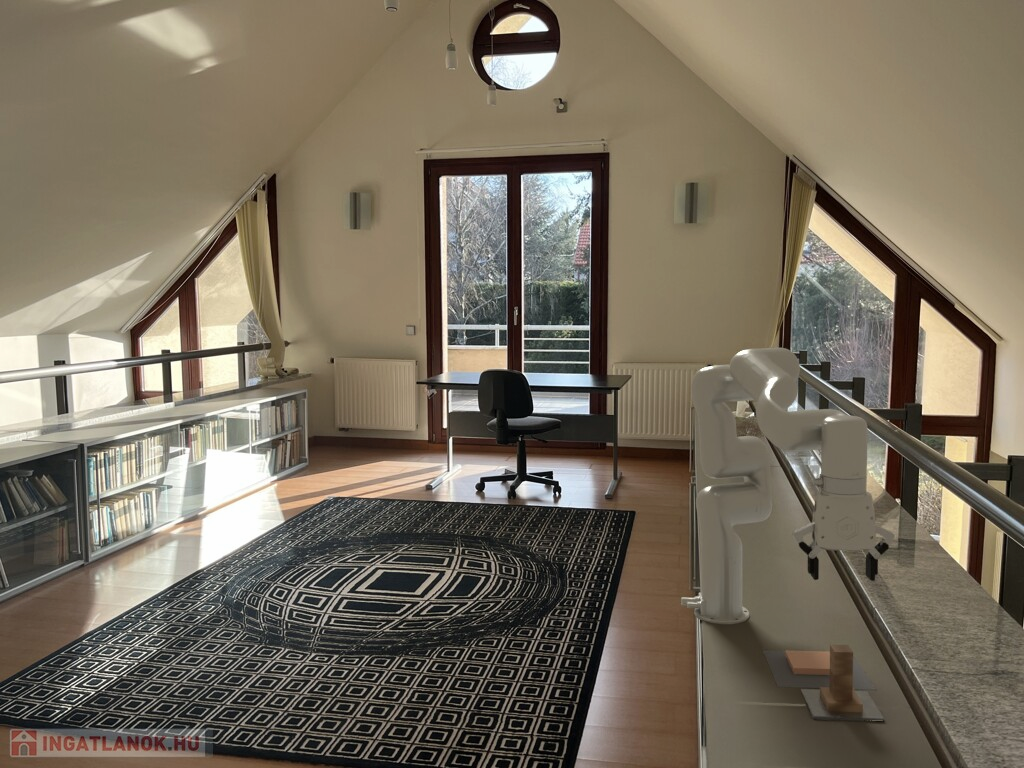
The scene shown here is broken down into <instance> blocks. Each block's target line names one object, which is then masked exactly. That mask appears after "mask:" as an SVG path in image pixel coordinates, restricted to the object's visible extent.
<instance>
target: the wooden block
mask: <svg viewBox="0 0 1024 768" xmlns="http://www.w3.org/2000/svg"><path fill="white" fill-rule="evenodd" d="M829 652H830V685H829V687H820V688H819V690H820V696H821V698H822V700H823V702H824V705H825V707H826V709H827V711H841V712H863V704H862V702H861V700H860V699H859V697H858V695H857V694H856V692H855V691H856V690H855V689H853V656H854V651H853V649H852V648H851V647H850V646H849V644H835V643H834V644H829Z"/></svg>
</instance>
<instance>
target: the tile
mask: <svg viewBox="0 0 1024 768" xmlns="http://www.w3.org/2000/svg"><path fill="white" fill-rule="evenodd" d="M784 651H785V657H786V659H787V661H788V663H789V665H790V667H791V669H792V672H793V674H803V675H830V650H828V651H827V650H825V651H824V650H822V651H821V650H819V651H818V650H784Z"/></svg>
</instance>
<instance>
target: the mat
mask: <svg viewBox="0 0 1024 768" xmlns="http://www.w3.org/2000/svg"><path fill="white" fill-rule="evenodd" d="M762 652H763V654H764V657H765V659H766V661H767V665H768V666H769V669H770V672H771V674H772V676H773V679H774V681H775V683H776V686H777V687H778V688H795V689H797V688H798V689H799V688H800V689H820V687H829V685H830V675H803V674H793V672H792V669H791V667H790V665H789V663H788V661H787V659H786V657H785V650H763V651H762ZM853 689H854V690H855V691H877V689H876V688H875V686H874V685H873V682H872V681H871V680H870V679H869V676H868V675H867V674H866V672H865V671H864V669H863V668H862V666H861V665H860V663H859V662H858V659H856V657H855V656H854V655H853Z"/></svg>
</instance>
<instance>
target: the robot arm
mask: <svg viewBox="0 0 1024 768" xmlns="http://www.w3.org/2000/svg"><path fill="white" fill-rule="evenodd" d="M800 370H801V366H800V361H799V359H798V357H797V356H796V354H795V353H794V352H793V351H791V350H790V349H788V348H784V347H767V348H766V347H764V348H762V347H761V348H748V349H742V350H741V351H739V352H738V353H735V354H734V356H733V357H732V358H731V360H730V362H729V364H718V365H710V366H706V367H703V368H701V369H699V370H697V371H696V373H695V374H694V375H693V377H692V380H691V385H690V390H691V392H690V393H691V399H692V403H693V407H694V409H695V413H696V415H697V421H698V439H699V457H700V458H699V459H700V466H701V471H702V472H703V475H705V476H706V477H707V478H709V479H715V480H718V479H719V480H720V479H724V480H725V479H735V478H743V481H744V482H743V481H742V482H732V483H730V482H729V483H721V484H719V483H718V484H712V485H709V486H706V487H704V488H702V489H701V490H700V491H699V492H698V494H697V495H696V498H695V507H696V513H697V518H698V525H699V533H700V534H699V535H700V537H699V538H700V592H698V595H697V596H696V595H695V596H694V597H689V596H686V597H685V596H681V599H680V601H681V602H680V603H681V606H687V608H686V609H694V610H693V611H694V615H695V617H696V618H697V619H698V620H700V621H705V622H707V623H712V624H717V625H718V624H719V625H734V624H741V623H743V622H745V621H747V620H749V618H750V611H749V609H747V608H746V607H744V606H743V544H742V540H741V538H740V537H739V535H738V533H736V532H735V530H734V528H733V527H734V526H735V525H742V524H743V525H744V524H751V523H758V522H763V521H765V520H767V519H768V518H769V517H770V516H771V512H772V509H773V508H772V507H773V497H772V496H773V495H772V493H773V492H772V472H771V459H770V454H769V450H768V448H767V445H766V444H765V443H764V441H763V440H762V439H761V438H760V437H757V436H755V435H744V436H738V434H737V433H738V432H737V421H736V420H737V419H736V416H735V415H734V413H733V411H732V410H731V408H730V407H729V406H728V405H727V404H726V403H730V402H745V401H746V402H749V401H754V402H755V403H756V406H755V417H756V422H757V425H758V429H759V430H760V432H761V433H762V435H764V436H765V438H767V440H768V441H770V443H771V444H772V445H774V446H775V447H776V448H778V449H780V450H782V451H783V452H789V453H796V452H799V453H800V452H808V451H820V453H821V455H820V456H821V458H820V459H821V460H820V466H821V467H820V473H819V477H816V478H812V486H813V487H818V488H819V489H818V490H817V492H816V496H815V501H814V507H813V513H812V520H811V522H810V523H807V524H805V525H803V526H802V527H799V528H797V529H795V530H793V531H792V533H791V534H792V537H793V538H794V540H795V542H796V544H797V545H798V547H799V548H800V549H801V551H803V552H804V553H805V554H806V555H807V573H808V574H809V575H810V576H811V577H812V579H813V580H814V581H818V580H819V577H820V576H819V572H820V571H819V570H820V567H819V566H820V561H819V558H818V556H817V555H819V554H820V552H822V551H823V550H824V551H825V550H826V551H856V552H857V551H867V553H866V555H865V576H866V577H867V578H868V579H869V581H871V582H874V581H875V580H876V576H877V575H878V571H879V560H880V559H881V556H882V555H883V554H885V553H886V552H887V551H888V550H889V548H890V545H891V544H892V542H893V540H894V539H895V534H894V533H893V532H892V531H890V530H888V529H886V528H884V527H882V526H880V525H878V524H877V523H876V516H875V514H876V513H875V506H874V499H873V496H872V493H871V492H869V491H867V480H868V478H867V475H868V471H867V470H868V424H867V421H866V419H864V418H863V417H860V416H859V415H858V416H857V415H849V414H846V413H844V412H843V411H841V410H838V409H834V408H823V409H804V410H803V409H802V410H792V411H788V409H789V408H790V407H791V406H793V404H794V402H796V401H795V400H796V399H797V396H798V393H799V385H798V383H797V380H798V378H799V376H800V374H801V373H800V372H801V371H800ZM809 534H811V538H812V541H811V542H810V544H807V543H806V541H805V540H804V537H805V536H807V535H809ZM877 534H878V535H879V536H882V538H881V540H880V541H879V542H878V543H877ZM876 543H877V544H876Z"/></svg>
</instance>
